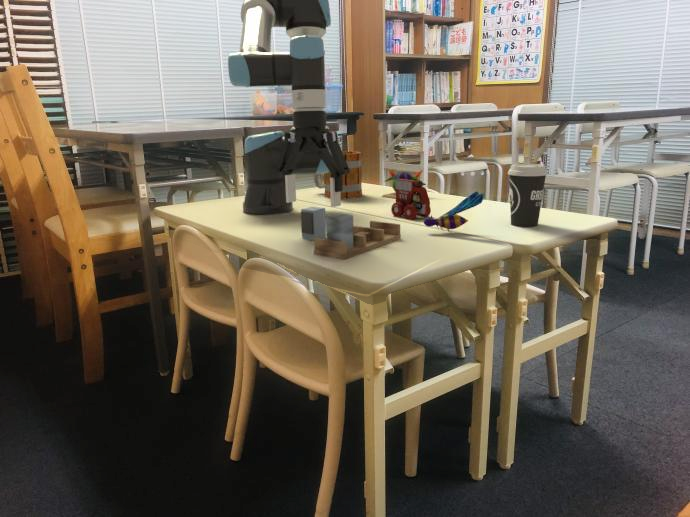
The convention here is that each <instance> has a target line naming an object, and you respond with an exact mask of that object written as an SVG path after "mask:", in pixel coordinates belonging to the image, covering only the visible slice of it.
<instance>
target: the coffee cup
mask: <svg viewBox="0 0 690 517" xmlns="http://www.w3.org/2000/svg"><path fill="white" fill-rule="evenodd" d="M548 174H549V172H548V169H547V168H546V165H545V164H541V163H540V164H538V163H515V164H511V165H510V168H509V169H508V171H507V175H509V176H508V177H509V198H510V199H509V201H510V202H509V203H510V204H509V205H510V210H509V211H510V225H511V226H513V227H517V228H534V227H538V224H539V220H540V214H541V206H542V200H543V195H544V189H545V184H546V176H548Z"/></svg>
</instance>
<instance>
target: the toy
mask: <svg viewBox="0 0 690 517" xmlns="http://www.w3.org/2000/svg"><path fill="white" fill-rule="evenodd" d="M484 198H485V193H480V194H479V191H474V192H472V193H471V194H470V195H468V196H467V197H465V198H464V199H463V200H462V201H460V202H459V203H458V204H457V205H456V206H455V207H453V208H451V209H450V210H449V211H447V212H445V213H444V214H442V215H440V216H439V217H438V218H433V215H432V214H430V217H428V218H426V219H425V220H424V221H423V224H424V225H425V226H426V227H430V228H431V227H433V226H436V228H439V227H440V229H441V231H444V229H446V230H447V231H448V232H449V233H450V232H451V231H450V230H454V229H458V228H459V227H461V226H463V225H465V224H466V223H468V222H469V220H468V219H466V218H465V217H464V216H461V215H459V214H460V213H462V212H465V211H467V210H470V209H472V208H475V207H476V206H478V205H480V204H482V202H483V201H484Z"/></svg>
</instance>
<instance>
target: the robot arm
mask: <svg viewBox="0 0 690 517" xmlns="http://www.w3.org/2000/svg"><path fill="white" fill-rule="evenodd" d="M330 8H331V7H330V1H329V0H244V1H243V2H242V5H241V9H240V19H241V21H242V22H241V23H242V30H241V37H240V45H239V51H238V52H234V53H233V52H232V53H230V54H229V55H228V57H227V69H228V78H229V81H230V84H231V86H234V87H243V88H244V87H245V88H252V87H283V86H284V87H291V100H292V102H291V103H292V104H291V105H292V109H294V111H293V113H292V127H291V128H290V132H289V131H288V132H285V133H284V131H282V130H277V131H269V132H264V133H258V134H253V135H248V136H247V137H246V138H245V140H244V152H243V153H244V155H245V156H244V158H245V171H246V172H245V173H246V189H245V194H244V200H243V203H242V212H243V213H245V214H249V215H274V214H283V213H287V212H291V211H293V209H294V206H293V204H294V202H297V191H296V186H297V185H296V176H301V175H302V176H303V175H304V176H305V175H314V174H315V175H317V174H318V175H324V174H325V173H328V172H329V171H330V172H331V174H332V175H333V176H332V178H330V196H331V198H330V207H331V208H335V207H338V206H339V207H340V206H341V205H342V203H341V202H342V201H341V199H342V198H341V196H340V191H342V190H343V187H342V186H343V185H342V184H343V182H342V178H343V176H344V175H346V174H349V173H350V169H349V167H348V165H347V162H346V160H345V157H344V155H343V153H342V151H343V150H342V148H341V146H340V142H339V138H338V137H339V136H338V133H337V131H330V128H329V126H328V125H327V112H326V111H325V110H324V109H326V108H327V100H326V97H327V96H326V77H325V76H326V74H325V73H326V72H325V70H326V69H325V68H326V67H325V65H326V64H325V54H326V52H325V46H324V45H325V44H324V38H323V37H324V36H325V35H326V34H327V28H328V27H330V26H331V23H332V20H331V18H332V17H331V10H330ZM272 28H285V33H286V35H287V36H288V37H289V38H290V40H289V51H288V52H286V51H285V52H283V51H281V52H271V50H272V48H271V47H272ZM290 210H291V211H290Z"/></svg>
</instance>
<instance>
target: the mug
mask: <svg viewBox="0 0 690 517" xmlns="http://www.w3.org/2000/svg"><path fill="white" fill-rule="evenodd" d="M342 153H343V155H344V157H345V160H346V162H347V165H348V167H349V169H350V173H349V174H346V175H344V176H343V178H342V182H343V184H342V185H343V186H342V187H343V190H342V191H340V196H341V199H344V198H347V199H354V197H355V198H360V197H361V196H362V195H363V189H362V180H363V173H362V172H363V171H362V155H363V154H362V153H363V152H362V151H353V150H352V151H349V150H348V151H343V150H342ZM332 176H333V175H332V174H331V172H330V171H329V172H328V173H325V174H323V180H324V181H323V182H324V183H323V184H320V181H319V174H317V175H315V174H313V181H314V185H315V187H317V189H324V197H325V198H329V199H331V196H330V178H332Z"/></svg>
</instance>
